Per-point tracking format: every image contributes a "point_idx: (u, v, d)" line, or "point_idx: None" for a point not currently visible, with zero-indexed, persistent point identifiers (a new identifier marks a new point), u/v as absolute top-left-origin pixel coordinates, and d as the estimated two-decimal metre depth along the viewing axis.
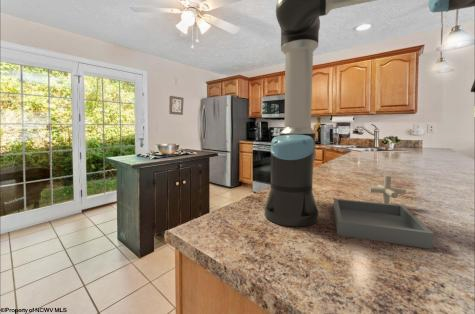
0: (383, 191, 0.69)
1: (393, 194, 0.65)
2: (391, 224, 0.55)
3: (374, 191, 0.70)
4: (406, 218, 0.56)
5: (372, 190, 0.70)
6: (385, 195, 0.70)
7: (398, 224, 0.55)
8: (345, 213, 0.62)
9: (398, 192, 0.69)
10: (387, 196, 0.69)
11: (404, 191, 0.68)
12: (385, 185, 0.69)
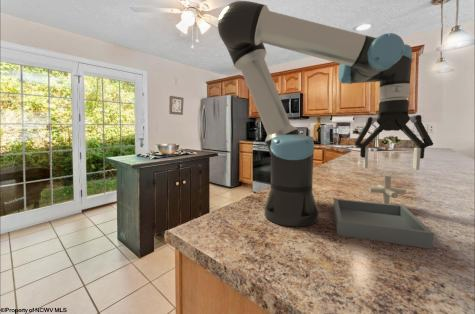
0: (383, 191, 0.69)
1: (393, 194, 0.65)
2: (391, 224, 0.55)
3: (374, 191, 0.70)
4: (406, 218, 0.56)
5: (372, 190, 0.70)
6: (385, 195, 0.70)
7: (398, 224, 0.55)
8: (345, 213, 0.62)
9: (398, 192, 0.69)
10: (387, 196, 0.69)
11: (404, 191, 0.68)
12: (385, 185, 0.69)
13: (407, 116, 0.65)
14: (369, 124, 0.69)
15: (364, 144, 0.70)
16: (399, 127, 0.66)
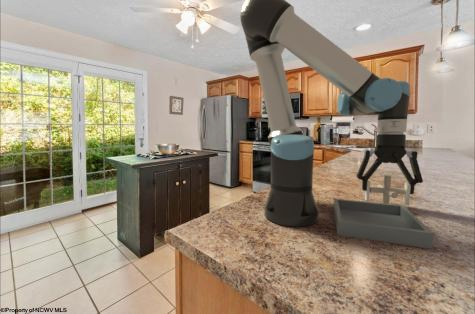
0: (383, 191, 0.69)
1: (393, 194, 0.65)
2: (391, 224, 0.55)
3: (374, 191, 0.70)
4: (406, 218, 0.56)
5: (372, 190, 0.70)
6: (385, 195, 0.70)
7: (398, 224, 0.55)
8: (345, 213, 0.62)
9: (398, 192, 0.69)
10: (387, 196, 0.69)
11: (404, 191, 0.68)
12: (385, 185, 0.69)
13: (404, 150, 0.66)
14: (367, 157, 0.70)
15: (366, 178, 0.71)
16: (394, 160, 0.67)
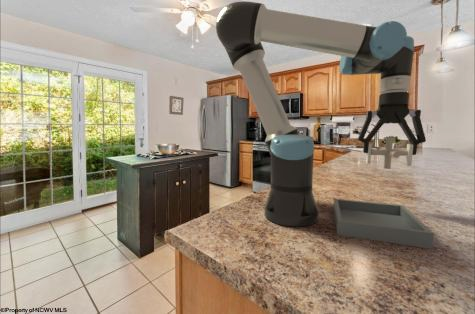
0: (385, 153, 0.68)
1: (395, 153, 0.64)
2: (391, 224, 0.55)
3: (376, 153, 0.69)
4: (406, 218, 0.56)
5: (373, 152, 0.69)
6: (387, 157, 0.68)
7: (398, 224, 0.55)
8: (345, 213, 0.62)
9: (400, 153, 0.67)
10: (389, 158, 0.68)
11: (406, 152, 0.67)
12: (387, 147, 0.68)
13: (407, 109, 0.65)
14: (369, 118, 0.68)
15: (367, 139, 0.69)
16: (397, 120, 0.66)
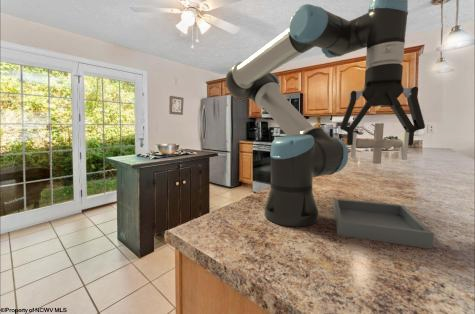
0: (373, 143, 0.53)
1: (386, 143, 0.49)
2: (391, 224, 0.55)
3: (362, 144, 0.54)
4: (406, 218, 0.56)
5: (359, 143, 0.54)
6: (376, 149, 0.54)
7: (398, 224, 0.55)
8: (345, 213, 0.62)
9: (393, 144, 0.53)
10: (379, 150, 0.53)
11: (400, 142, 0.52)
12: (376, 136, 0.53)
13: (401, 87, 0.50)
14: (353, 100, 0.54)
15: (351, 127, 0.55)
16: (388, 101, 0.51)
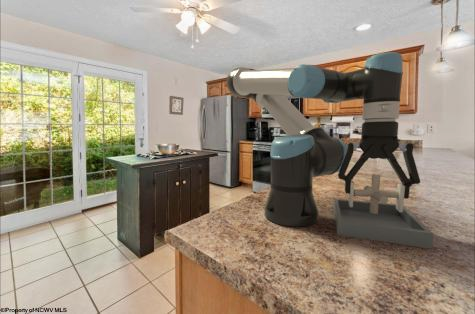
0: (370, 194, 0.55)
1: (382, 198, 0.51)
2: (391, 224, 0.55)
3: (359, 194, 0.55)
4: (406, 218, 0.56)
5: (357, 193, 0.55)
6: (373, 199, 0.55)
7: (398, 224, 0.55)
8: (345, 213, 0.62)
9: (389, 196, 0.54)
10: (375, 201, 0.55)
11: (396, 194, 0.54)
12: (373, 187, 0.55)
13: (396, 142, 0.52)
14: (351, 151, 0.55)
15: (349, 177, 0.56)
16: (384, 155, 0.53)
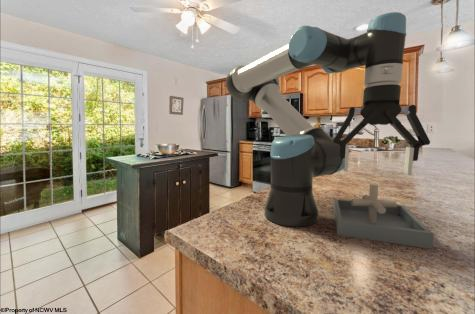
0: (368, 204, 0.55)
1: (380, 209, 0.51)
2: (391, 224, 0.55)
3: (357, 204, 0.56)
4: (406, 218, 0.56)
5: (355, 203, 0.56)
6: (371, 209, 0.56)
7: (398, 224, 0.55)
8: (345, 213, 0.62)
9: (387, 205, 0.55)
10: (374, 210, 0.55)
11: (394, 203, 0.54)
12: (371, 196, 0.55)
13: (398, 106, 0.51)
14: (351, 116, 0.54)
15: (344, 141, 0.56)
16: (388, 120, 0.52)
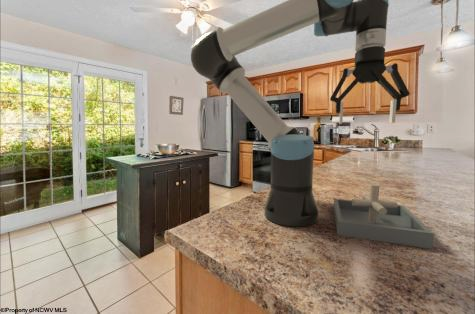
0: (369, 204, 0.55)
1: (381, 210, 0.51)
2: (391, 224, 0.55)
3: (358, 204, 0.56)
4: (406, 218, 0.56)
5: (356, 203, 0.56)
6: (372, 209, 0.55)
7: (398, 224, 0.55)
8: (345, 213, 0.62)
9: (388, 206, 0.54)
10: (374, 211, 0.55)
11: (395, 204, 0.54)
12: (372, 197, 0.55)
13: (383, 65, 0.61)
14: (344, 76, 0.65)
15: (339, 98, 0.66)
16: (375, 78, 0.62)
